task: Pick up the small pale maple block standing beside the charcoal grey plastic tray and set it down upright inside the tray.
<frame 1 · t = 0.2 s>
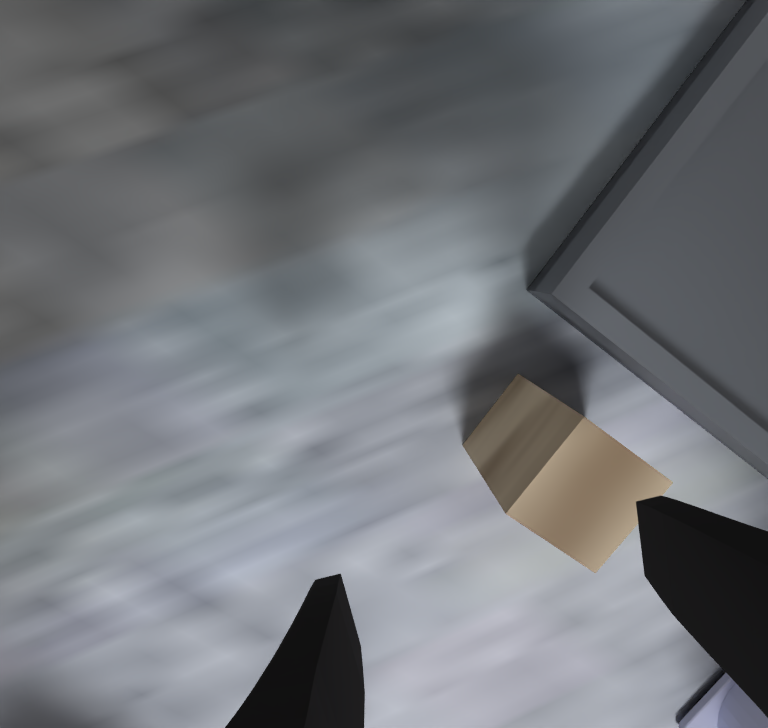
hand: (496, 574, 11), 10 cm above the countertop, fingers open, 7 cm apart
maple block: (523, 433, 22), on the countertop
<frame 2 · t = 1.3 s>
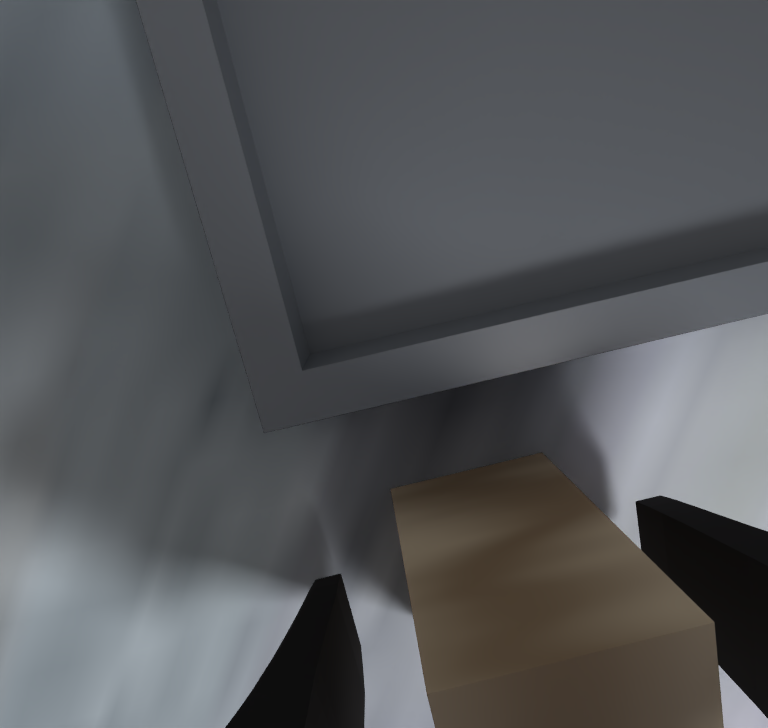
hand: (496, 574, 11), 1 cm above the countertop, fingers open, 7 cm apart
maple block: (480, 538, 13), on the countertop
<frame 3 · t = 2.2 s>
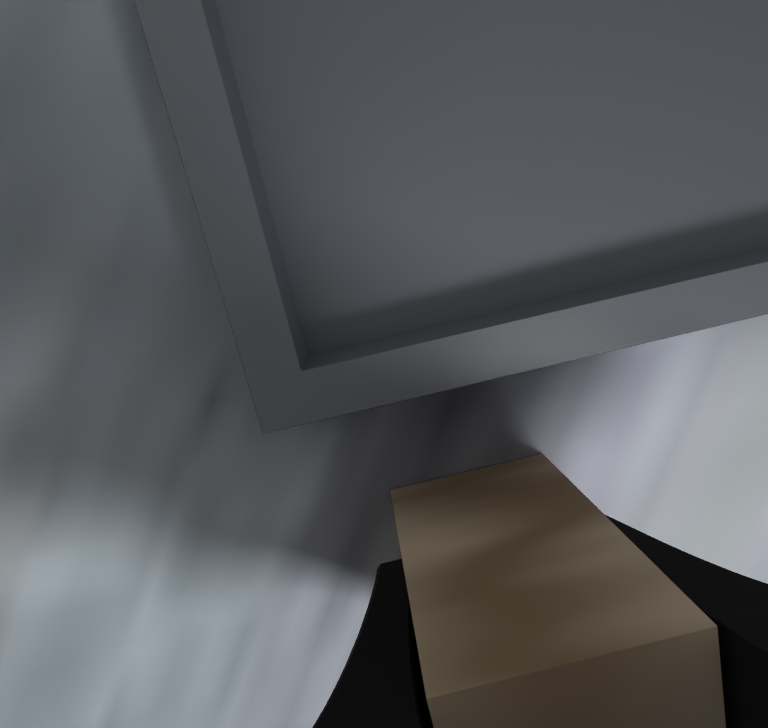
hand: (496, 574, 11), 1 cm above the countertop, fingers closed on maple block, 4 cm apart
maple block: (480, 540, 13), on the countertop, touching gripper
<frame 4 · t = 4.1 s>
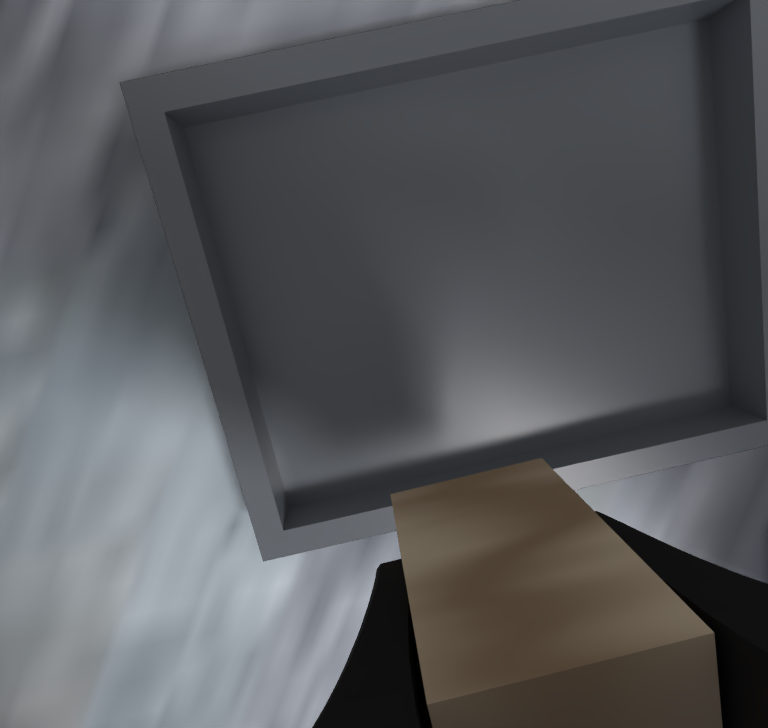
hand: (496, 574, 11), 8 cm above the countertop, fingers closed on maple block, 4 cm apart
tray: (478, 280, 18), on the countertop
maple block: (479, 543, 13), point 7 cm above the countertop, touching gripper
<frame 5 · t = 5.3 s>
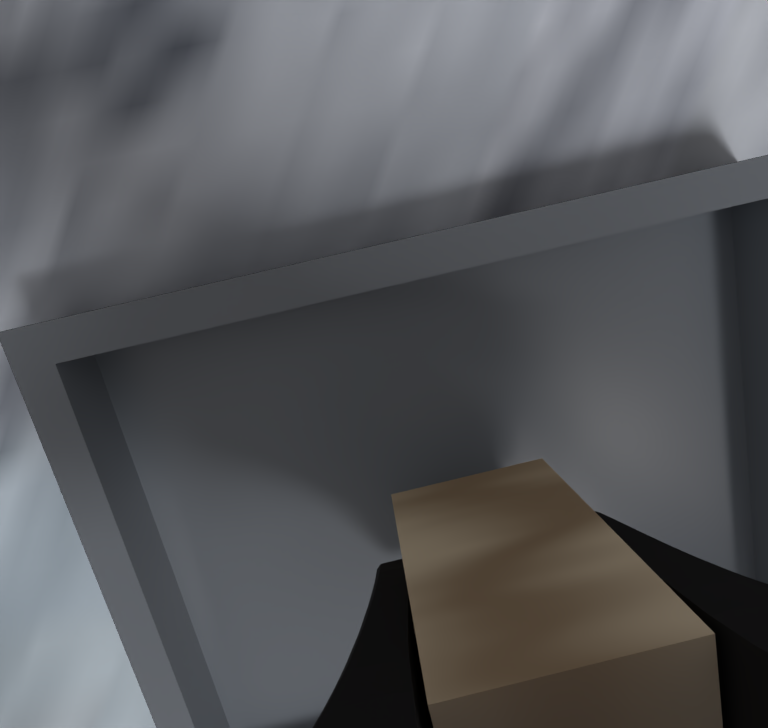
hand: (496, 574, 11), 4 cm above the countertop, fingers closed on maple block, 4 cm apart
tray: (457, 491, 15), on the countertop
maple block: (480, 544, 13), point 3 cm above the countertop, touching gripper
when the fingers open (4 cm above the countertop, at t = 6.2 s): maple block drops 1 cm, resting on tray.
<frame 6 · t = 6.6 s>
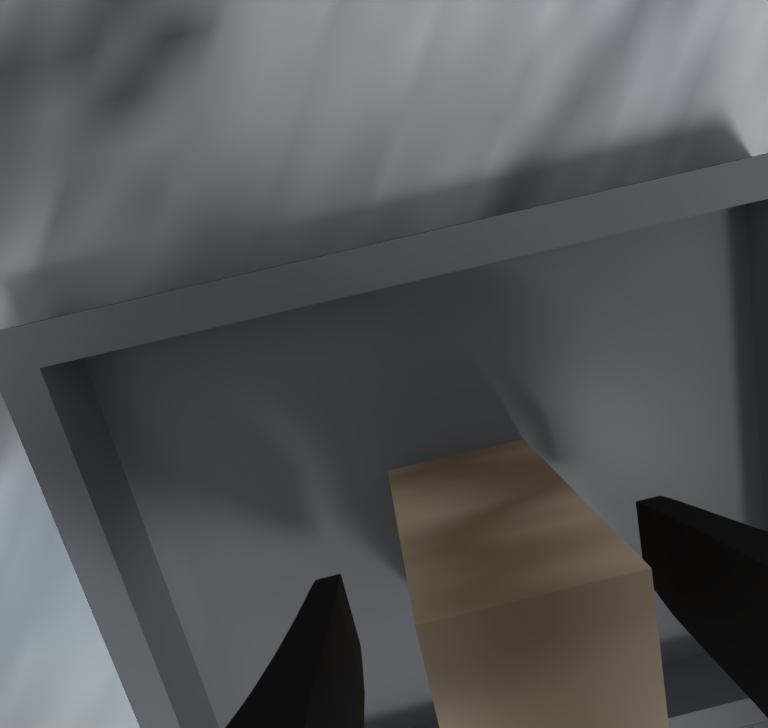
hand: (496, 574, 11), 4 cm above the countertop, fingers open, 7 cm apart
tray: (460, 498, 15), on the countertop
maple block: (467, 516, 14), point 1 cm above the countertop, touching tray
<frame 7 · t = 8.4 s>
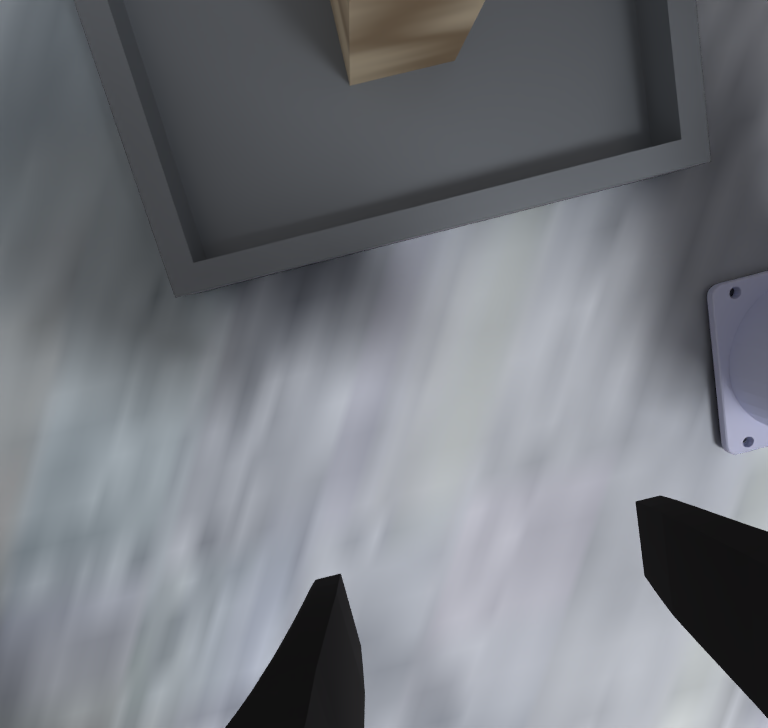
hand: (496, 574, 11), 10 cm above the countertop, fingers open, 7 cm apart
tray: (387, 19, 18), on the countertop
maple block: (389, 13, 17), point 1 cm above the countertop, touching tray
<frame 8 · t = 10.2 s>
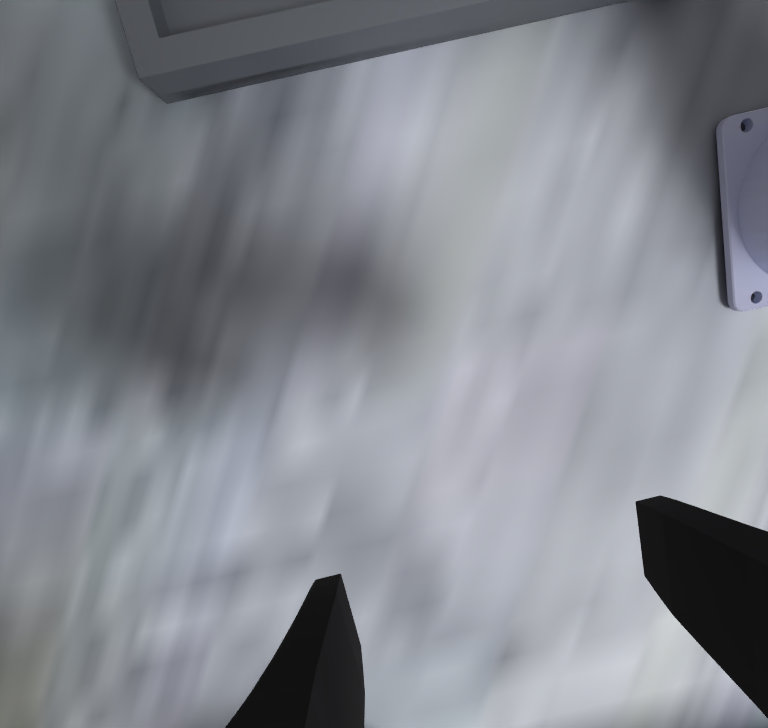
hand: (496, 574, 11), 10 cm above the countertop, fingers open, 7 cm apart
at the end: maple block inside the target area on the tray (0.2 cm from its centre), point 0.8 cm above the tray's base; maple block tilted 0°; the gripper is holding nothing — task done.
